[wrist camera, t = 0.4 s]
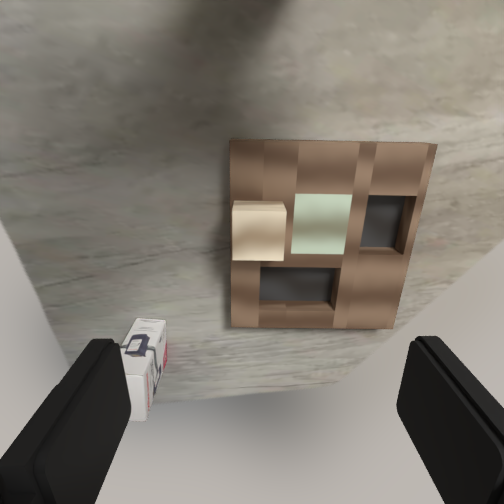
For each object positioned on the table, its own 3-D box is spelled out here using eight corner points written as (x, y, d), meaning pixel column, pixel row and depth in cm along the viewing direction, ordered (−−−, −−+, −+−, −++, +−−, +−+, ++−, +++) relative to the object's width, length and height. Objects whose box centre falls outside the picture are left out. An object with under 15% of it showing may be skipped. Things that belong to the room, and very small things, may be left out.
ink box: (168, 361, 52) (147, 424, 41) (138, 359, 52) (109, 422, 41) (167, 318, 49) (143, 376, 38) (135, 316, 49) (102, 374, 38)
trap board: (231, 138, 38) (229, 140, 36) (424, 142, 39) (437, 144, 36) (232, 315, 49) (231, 327, 46) (384, 317, 49) (392, 329, 46)
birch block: (234, 200, 38) (232, 210, 34) (282, 201, 38) (286, 211, 34) (234, 245, 41) (232, 260, 37) (280, 246, 41) (283, 260, 37)
